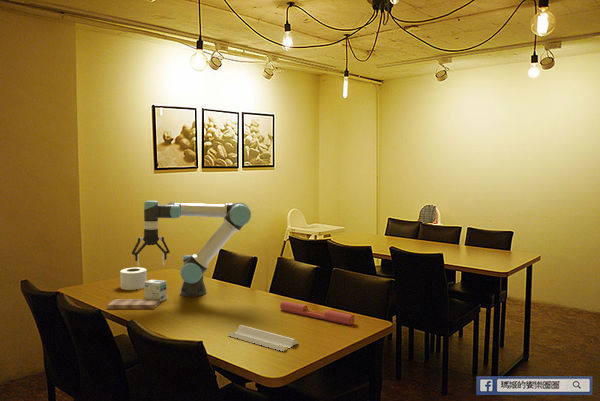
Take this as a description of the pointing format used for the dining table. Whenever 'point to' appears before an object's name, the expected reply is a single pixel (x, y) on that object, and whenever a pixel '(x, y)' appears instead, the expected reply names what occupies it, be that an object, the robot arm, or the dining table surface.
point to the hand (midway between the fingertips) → (150, 266)
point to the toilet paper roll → (133, 278)
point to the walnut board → (134, 304)
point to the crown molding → (263, 338)
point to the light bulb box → (155, 289)
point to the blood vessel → (317, 313)
